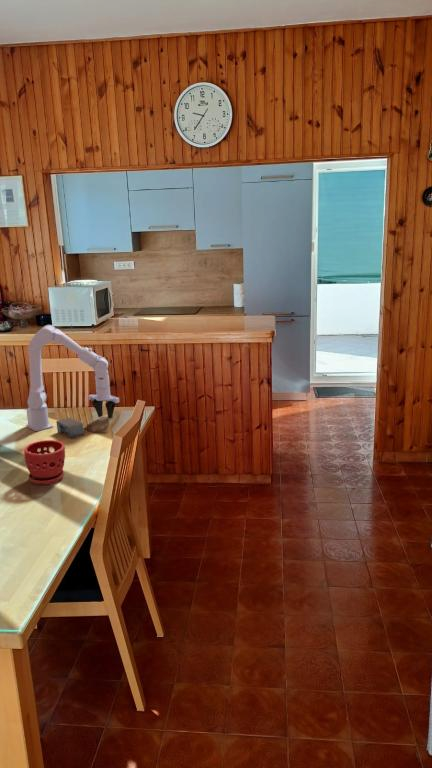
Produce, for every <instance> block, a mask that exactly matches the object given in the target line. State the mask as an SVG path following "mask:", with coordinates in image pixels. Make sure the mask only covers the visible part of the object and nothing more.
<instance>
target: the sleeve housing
mask: <svg viewBox="0 0 432 768" xmlns="http://www.w3.org/2000/svg"><path fill="white" fill-rule="evenodd" d="M56 429H57V431H56V432H57V433H58V434H60V435H62V434H65V433H66V437H67V438H68V439H75V438H78V437H81V436H84V435H85V433H84V432H85V431H84V423H83V422H80V421H78V420H77V419H74V418H71V417H65V418H62V419H59V420H56Z"/></svg>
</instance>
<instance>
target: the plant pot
mask: <svg viewBox="0 0 432 768" xmlns="http://www.w3.org/2000/svg"><path fill="white" fill-rule="evenodd" d="M45 448H46V449H45ZM50 448H52V449H53V451H50ZM38 449H39V450H40V451H38ZM23 450H24V451H23V453H24V461H25V464H26V469H27V470H28V472H29V474H28V480H29V481H30V482H31V483H33V484H36V485H48V484H49V485H50V484H54V483H57V482H59V481H60V480H62V478H63V477H64V475H65V471H64V467H65V459H66V447H65V444H64V443H63V442H62V441H58V440H51V439H49V440H47V439H46V440H39V441H35V442H32V443H30V444H28V445H27V446H26V445H25V447H24V449H23Z"/></svg>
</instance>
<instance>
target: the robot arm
mask: <svg viewBox="0 0 432 768" xmlns="http://www.w3.org/2000/svg"><path fill="white" fill-rule="evenodd" d="M50 343H52V344H62V345H63V346H65V347H66V348H67V349H69V350H70V351H72V352H73V353H75V354H76V355H77V357H78V359H79V360H80V361H82V362H83V363H84V364H86V365H87V366H89V367H90V368H92V370H93V372H94V374H95V376H94V380H95V391H96V394H92V393H91V394H89V395H88V400H89V401H91V404H92V405H93V408H94V409H95V412H96V413H97V417H98V418H101V417H103V416H104V414H103V403H104V402H106V403H105V404H104V405H105V408H106V411H107V415H108V418H109V419H110V418H112V417H113V418H114V416H113V415H114V411H115V407H116V405H117V404H118V403H120V397H117V396H114V395H111V389H110V385H111V384H110V376H109V370H108V368H109V362H108V360H107V359H106V358H105V357H103V356H101V355H98V354H97V353H95V352H94V351H93V348H91V347H89V348H88V347H82V346H80V345H79V343H77V342H76V341H74V340H73V339H72V338H70V337H69V336H68V335H67V334H66V333H64V332H63V331H62V330H60V329H59V328H56V327H55V326H54V325H52V324H46V325H44V326H43V327H42V328H40V329H39V330H38V331H37V332H35V333H34V336H33V337H32V338H31V340H30V341H29V343H28V361H29V362H28V364H29V380H30V381H29V382H30V387H29V391H28V395H29V396H28V398H27V406H28V408H27V409H26V418H27V424H26V428H29V429H31V430H33V431H34V432H38V431H42V430H46V429H49V428H53V427H54V426H53V425H52V424H50V422H49V421H50V420H49V413H48V405H47V403H46V401H47V397H48V396H47V393H46V392H45V386H44V382H43V381H44V379H43V362H42V361H43V360H42V359H43V358H42V357H43V356H42V349H43V347H44V346H47V345H48V344H50Z"/></svg>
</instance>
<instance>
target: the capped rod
mask: <svg viewBox="0 0 432 768" xmlns="http://www.w3.org/2000/svg"><path fill="white" fill-rule="evenodd" d="M112 423H114V416H113V417H112V418H110V419H109V418H108V414H104V415H102V416H101V417H98V418H97V419H96V420H93V421H92V422H90V423H88V424H86V427H87V432H89V433H95V432H96V431H99V430H101V429H102V428H104V427H106V426H108V425H109V424H112Z"/></svg>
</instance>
